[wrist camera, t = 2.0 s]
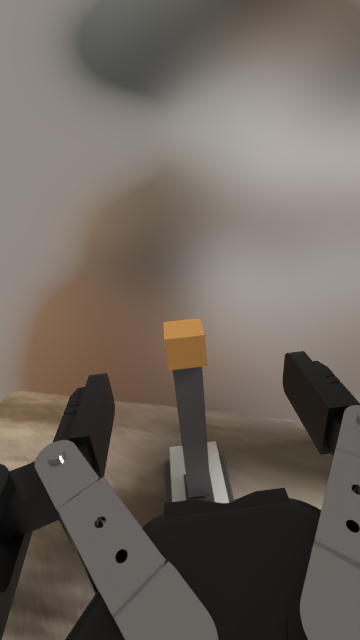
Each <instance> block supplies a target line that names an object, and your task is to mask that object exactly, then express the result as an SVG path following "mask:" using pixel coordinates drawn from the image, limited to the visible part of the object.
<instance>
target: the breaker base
mask: <svg viewBox="0 0 360 640" xmlns="http://www.w3.org/2000/svg"><path fill="white" fill-rule="evenodd" d="M207 447H208V461H209V476H210V490H211V495H205V496H197V497H189V496H188V488H187V480H186V472H185V464H184V456H183V448H182V445H181V446H173V447H169V448H170V459H169V460H164V484H165V503H168V502H176V501H184V500H192V499H196V500H203V501H211V502H218V503H229V502H231V501H234V497H233V493H232V488H231V484H230V480H229V476H228V472H227V467H226V463H225V459H224V455H223V453H218V450H217V445H216V441H214V442H207Z"/></svg>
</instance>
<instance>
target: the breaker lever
mask: <svg viewBox="0 0 360 640" xmlns="http://www.w3.org/2000/svg"><path fill="white" fill-rule="evenodd" d="M164 340H165V347H166V354H167V363H168V370H173V375H174V382H175V391H176V399H177V407H178V415H179V423H180V431H181V439H182V448H183V456H184V464H185V472H186V480H187V488H188V496H189V497H197V496H205V495H211V490H210V476H209V461H208V447H207V433H206V418H205V405H204V389H203V375H202V367H203V366H207V364H206V348H205V334H204V331H203V327H202V324H201V321H200V318H198V319H189V320H179V321H171V322H164Z"/></svg>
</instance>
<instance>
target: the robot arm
mask: <svg viewBox="0 0 360 640" xmlns="http://www.w3.org/2000/svg"><path fill="white" fill-rule="evenodd" d="M283 372H284V373H283V387H284V391H285V394H286V396H287V397H288V399H289V401H290V403H291V404H292V406H293V408H294V410H295V411H296V413H297V414H298V416H299V418H300V420H301V422H302V423H303V425H304V427H305V429H306V430H307V432H308V434H309V435H310V437H311V439H312V441H313V442H314V444H315V446H316V447H317V449H318V451H319V453H320V454H328V453H332V455H333V462H332V466H331V470H330V475H329V479H328V483H327V488H326V492H325V496H324V501H323V505H322V509H321V510H320V509H318V508H316V507H314V506H312V505H310V504H308V503H305V502H303V501H300V500H296V499H291V498H288V495H287V493H286V490H285V488H280V489H272V490H264V491H256V492H253V493H251V494H248V495H246V496H243V497H241V498H239V499H236V500H234V501H231V502H229V503H218V502H211V501H203V500H196V499H192V500H184V501H176V502H168V503H164V514H162V515H160V516H158V517H156V518H154V519H153V520H151V521H150V522H149V523H147V524H146V525H145V526H144V527H143V528H141V526H140V525H139V524H138V522H137V521H136V520H135V518H134V517H133V516H132V514H131V513H130V512H129V510H128V509H127V508H126V506H125V505H124V503H123V502H122V501H121V499H120V498H119V497H118V495H117V494H116V493H115V491H114V490H113V489H112V487H111V486H110V485H109V483H108V482H107V481H106V479H105V478H104V473H105V467H106V461H107V455H108V449H109V443H110V437H111V432H112V426H113V420H114V414H115V404H114V398H113V394H112V390H111V386H110V382H109V378H108V375H107V374H106V373H104V374H95V375H89V377H88V380H87V383H86V386H85V387H82V388H78V389H77V390H76V391H75V392H74V393H73V394H72V395H71V396H70V398H69V401H68V404H67V407H66V409H65V411H64V415H63V417H62V419H61V422H60V425H59V427H58V430H57V433H56V435H55V438H54V440H53V443H51V444H49V445H48V446H46V447H45V448H44V449H43V450H42V451H41V452H40V453H39V454H38V456H37V457H36V460H35V461H34V462H32V463H30V464H28V465H25V466H23V467H20V468H17V469H15V470H12V471H8V469H7V467H6V466H4V465H2V464H0V640H1V639H2V636H3V632H4V629H5V625H6V622H7V619H8V615H9V612H10V608H11V605H12V601H13V598H14V594H15V591H16V587H17V584H18V580H19V577H20V573H21V570H22V566H23V563H24V559H25V556H26V552H27V549H28V545H29V542H30V538H31V535H32V531H34V530H36V529H39V528H41V527H43V526H45V525H47V524H50V523H52V522H54V521H56V520H59V522H60V524H61V526H62V528H63V530H64V532H65V533H66V535H67V537H68V539H69V541H70V543H71V545H72V547H73V549H74V551H75V553H76V555H77V557H78V559H79V561H80V563H81V565H82V568H83V570H84V572H85V574H86V576H87V578H88V580H89V582H90V584H91V586H92V588H93V590H94V592H95V596H94V597H93V599H92V600H91V602H90V603H89V605H88V606H87V608H86V609H85V611H84V612H83V614H82V615H81V617H80V618H79V620H78V621H77V623H76V624H75V626H74V627H73V629H72V630H71V632H70V633H69V635H68V636H67V638H66V639H65V640H360V403H359V402H358V401H357V400H356V399H355V398H354V396H353V395H352V394H351V393H350V392H349V391H348V390H347V388H346V387H345V386H344V385H343V384H342V383H340V380H339V379H338V378H337V377H335V375H334V374H333V373H332V371H331V370H330V369H329V368H328V367H327V366H325V365H323V364H321V363H320V362H318V361H312V360H311V359H310V358H309V357H308V355H307V354H306V353H305V352H304V351H301V352H292V353H286V354H285V360H284V371H283Z"/></svg>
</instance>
